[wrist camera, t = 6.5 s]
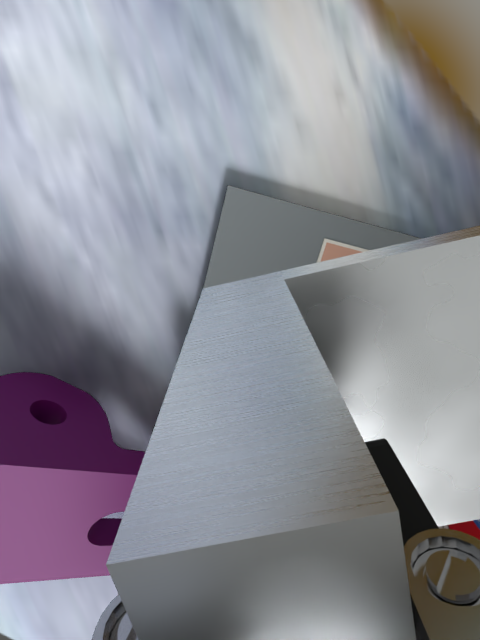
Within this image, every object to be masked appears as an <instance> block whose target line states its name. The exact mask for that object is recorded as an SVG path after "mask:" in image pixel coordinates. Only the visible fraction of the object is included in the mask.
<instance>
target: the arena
mask: <svg viewBox="0 0 480 640" xmlns="http://www.w3.org/2000/svg"><path fill="white" fill-rule="evenodd" d="M418 239H421V238H418V237H414V236H410V235H407V234H403V233H400V232H396V231H392V230H389V229H385V228H381V227H378V226H374V225H371V224H367V223H363V222H360V221H356V220H352V219H349V218H345V217H341V216H338V215H334V214H331V213H327V212H323V211H320V210H316V209H312V208H309V207H305V206H301V205H298V204H294V203H291V202H287V201H283V200H280V199H276V198H272V197H269V196H265V195H262V194H258V193H254V192H251V191H247V190H243V189H240V188H236V187H232V186H229V185H228V187H227V191H226V195H225V199H224V204H223V208H222V212H221V216H220V220H219V224H218V229H217V233H216V237H215V241H214V245H213V249H212V254H211V258H210V262H209V266H208V270H207V274H206V279H205V283H204V287H203V289H204V288H208V287H212V286H217V285H221V284H225V283H230V282H234V281H239V280H243V279H247V278H252V277H256V276H261V275H265V274H269V273H274V272H278V271H282V270H287V269H291V268H296V267H300V266H304V265H309V264H313V263H317V262H322V261H326V260H331V259H335V258H339V257H344V256H348V255H353V254H357V253H361V252H366V251H370V250H374V249H379V248H383V247H388V246H392V245H396V244H401V243H405V242H410V241H414V240H418Z"/></svg>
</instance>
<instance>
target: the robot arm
mask: <svg viewBox="0 0 480 640" xmlns="http://www.w3.org/2000/svg"><path fill="white" fill-rule="evenodd" d="M365 444H366V446H367V448H368V450H369V452H370V454H371V456H372V458H373V460H374V462H375V464H376V466H377V468H378V470H379V472H380V474H381V476H382V478H383V480H384V482H385V484H386V486H387V488H388V490H389V492H390V494H391V496H392V498H393V500H394V502H395V504H396V506H397V508H398V511H399V517H400V524H401V532H402V539H403V546H404V553H405V561H406V568H407V575H408V583H409V590H410V597H411V604H412V612H413V619H414V626H415V634H416V640H480V540H479V539H477V538H476V537H473V536H471V535H469V534H466V533H464V532H461V531H457V530H451V529H446V528H442V529H439V527H438V526H437V524H436V522H435V521H434V519H433V517H432V515H431V514H430V512H429V510H428V509H427V507H426V505H425V504H424V502H423V500H422V498H421V497H420V495H419V493H418V492H417V490H416V488H415V487H414V485H413V483H412V481H411V480H410V478H409V476H408V475H407V473H406V471H405V469H404V468H403V466H402V464H401V463H400V461H399V459H398V458H397V456H396V454H395V452H394V451H393V449H392V447H391V446H390V444H389V443H388V441H387V440H386V439H384V438H383V439H378V440H372V441H367V442H365ZM92 640H139V639H138V637H137V635H136V632H135V630H134V628H133V626H132V623H131V621H130V619H129V616H128V614H127V612H126V610H125V607H124V605H123V603H122V600H121V598H120V596H119V595H118V596H116V597H115V598H114V599H113V600H112V601H111V602H110V604H109V605H108V606H107V608H106V609H105V610H104V612H103V613H102V615H101V617H100V619H99V621H98V623H97V626H96V628H95V631H94V634H93V637H92Z"/></svg>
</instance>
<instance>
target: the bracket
mask: <svg viewBox="0 0 480 640" xmlns="http://www.w3.org/2000/svg"><path fill="white" fill-rule="evenodd" d="M383 438H384V439H386V440H387V441H388V443H389V444H390V446H391V447H392V449H393V451H394V452H395V454H396V456H397V458H398V459H399V461H400V463H401V464H402V466H403V468H404V469H405V471H406V473H407V475H408V476H409V478H410V480H411V481H412V483H413V485H414V487H415V488H416V490H417V492H418V493H419V495H420V497H421V498H422V500H423V502H424V504H425V505H426V507H427V509H428V510H429V512H430V514H431V515H432V517H433V519H434V521H435V522H436V524H437V526H438V527H439V526H445V525H450V524H456V523H461V522H467V521H472V520H478V519H480V226H475V227H471V228H467V229H462V230H458V231H453V232H449V233H445V234H440V235H436V236H431V237H427V238H423V239H418V240H414V241H410V242H405V243H401V244H396V245H392V246H388V247H383V248H379V249H374V250H370V251H366V252H361V253H357V254H353V255H348V256H344V257H339V258H335V259H331V260H326V261H322V262H317V263H313V264H309V265H304V266H300V267H296V268H291V269H287V270H282V271H278V272H274V273H269V274H265V275H261V276H256V277H252V278H247V279H243V280H239V281H234V282H230V283H225V284H221V285H217V286H212V287H208V288H204V289H203V290H202V293H201V296H200V299H199V302H198V304H197V307H196V310H195V313H194V316H193V319H192V321H191V324H190V327H189V330H188V333H187V336H186V338H185V341H184V344H183V347H182V350H181V353H180V356H179V358H178V361H177V364H176V367H175V370H174V373H173V375H172V378H171V381H170V384H169V387H168V390H167V393H166V395H165V398H164V401H163V404H162V407H161V410H160V412H159V415H158V418H157V421H156V424H155V427H154V429H153V432H152V435H151V438H150V441H149V444H148V447H147V449H146V452H145V455H144V458H143V461H142V464H141V466H140V469H139V472H138V475H137V478H136V481H135V484H134V486H133V489H132V492H131V495H130V498H129V501H128V503H127V506H126V509H125V512H124V515H123V518H122V520H121V523H120V526H119V529H118V532H117V535H116V538H115V540H114V543H113V546H112V549H111V552H110V555H109V557H108V560H107V563H106V566H107V568H108V571H109V573H110V575H111V578H112V580H113V582H114V584H115V587H116V589H117V591H118V594H119V596H120V598H121V600H122V603H123V605H124V607H125V610H126V612H127V614H128V616H129V619H130V621H131V623H132V626H133V628H134V630H135V632H136V635H137V637H138V639H139V640H416V634H415V626H414V619H413V612H412V604H411V597H410V590H409V583H408V575H407V568H406V561H405V553H404V546H403V539H402V532H401V524H400V517H399V511H398V508H397V506H396V504H395V502H394V500H393V498H392V496H391V494H390V492H389V490H388V488H387V486H386V484H385V482H384V480H383V478H382V476H381V474H380V472H379V470H378V468H377V466H376V464H375V462H374V460H373V458H372V456H371V454H370V452H369V450H368V448H367V446H366V444H365V442H367V441H372V440H378V439H383Z"/></svg>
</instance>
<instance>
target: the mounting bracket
mask: <svg viewBox="0 0 480 640" xmlns="http://www.w3.org/2000/svg"><path fill="white" fill-rule="evenodd" d="M144 455H145V452H143V451H135V450H126V449H122V448H120V447H118V446H117V445H116V444H115V443H114V442H113V439H112V435H111V431H110V426H109V422H108V419H107V416H106V414H105V412H104V410H103V408H102V407H101V406H100V404H99V403H98V402H97V401H96V400H95V399H94V398H93V397H92V396H91V395H89V394H88V393H87V392H85V391H83V390H80V389H78V388H76V387H74V386H72V385H70V384H68V383H66V382H64V381H62V380H59V379H57V378H55V377H53V376H50V375H45V374H40V373H30V372H22V373H11V374H7V375H3V376H0V584H6V583H19V582H31V581H44V580H56V579H69V578H82V577H94V576H107V575H110V573H109V571H108V568H107V566H106V563H107V560H108V557H109V555H110V552H111V549H112V546H113V543H114V540H115V538H116V535H117V532H118V529H119V526H120V523H121V520H122V519H116V518H103V517H105V516H107V515H109V514H112V513H116V512H125V509H126V506H127V503H128V501H129V498H130V495H131V492H132V489H133V486H134V484H135V481H136V478H137V475H138V472H139V469H140V466H141V464H142V461H143V458H144Z"/></svg>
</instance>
